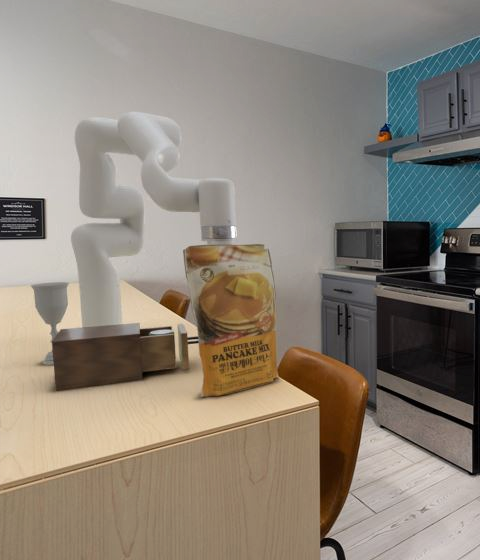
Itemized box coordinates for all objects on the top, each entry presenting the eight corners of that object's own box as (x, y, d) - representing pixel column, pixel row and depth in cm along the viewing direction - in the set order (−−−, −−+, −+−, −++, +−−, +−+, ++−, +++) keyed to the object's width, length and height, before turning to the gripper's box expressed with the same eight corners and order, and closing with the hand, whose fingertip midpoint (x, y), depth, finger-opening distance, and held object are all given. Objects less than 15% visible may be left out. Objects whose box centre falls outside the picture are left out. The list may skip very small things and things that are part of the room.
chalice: (54, 366, 113) (48, 286, 111) (29, 365, 114) (22, 285, 112) (82, 358, 120) (76, 282, 118) (58, 356, 121) (52, 281, 119)
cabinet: (142, 364, 115) (139, 322, 114) (142, 379, 104) (139, 333, 103) (64, 373, 108) (60, 329, 107) (55, 390, 97) (51, 341, 96)
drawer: (206, 353, 121) (205, 321, 120) (212, 365, 111) (211, 330, 110) (117, 363, 112) (115, 329, 111) (115, 377, 102) (113, 339, 101)
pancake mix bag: (182, 394, 95) (174, 245, 92) (272, 372, 109) (268, 242, 106) (199, 402, 91) (191, 246, 88) (290, 378, 105) (286, 243, 102)
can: (150, 358, 112) (148, 330, 112) (175, 355, 115) (173, 328, 114) (150, 364, 108) (148, 335, 107) (176, 361, 110) (174, 332, 110)
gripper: (242, 234, 109) (246, 318, 111) (231, 233, 122) (234, 308, 124) (204, 235, 106) (209, 321, 108) (197, 234, 119) (201, 311, 121)
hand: (222, 314), depth 116 cm, fingers closed
